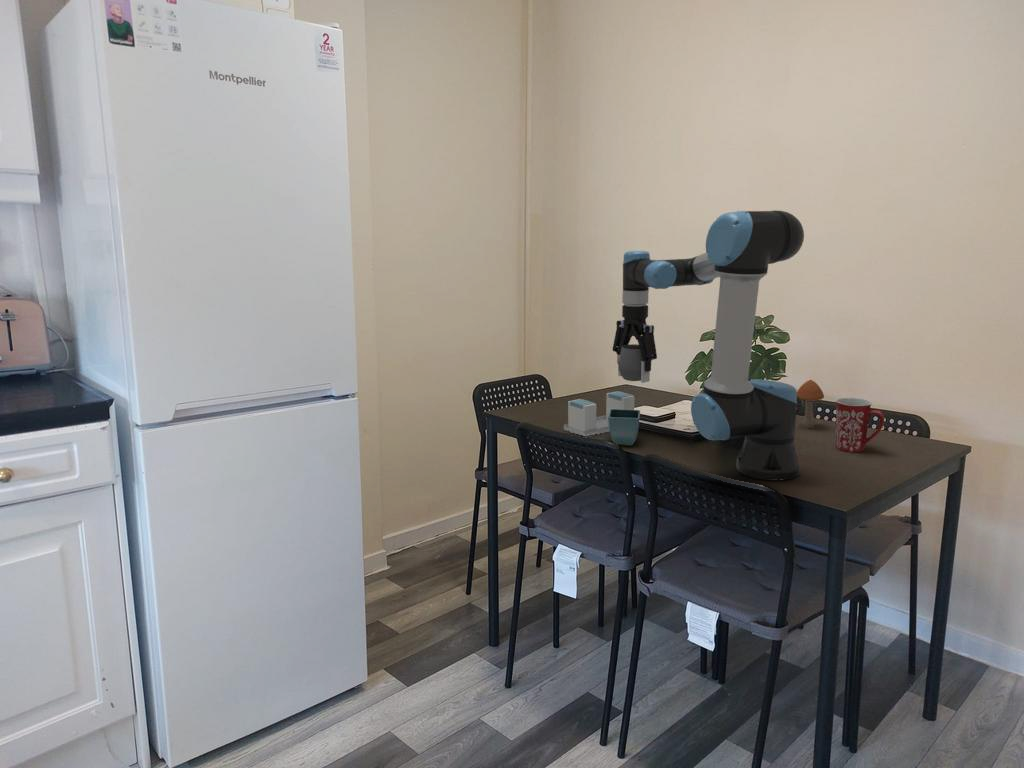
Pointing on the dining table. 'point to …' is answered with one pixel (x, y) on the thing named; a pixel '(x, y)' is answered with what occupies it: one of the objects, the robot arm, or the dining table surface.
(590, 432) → the grey flat slab
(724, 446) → the dining table surface
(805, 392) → the mushroom
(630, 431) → the flower pot
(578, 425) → the block
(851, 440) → the mug
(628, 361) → the cup
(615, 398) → the block
